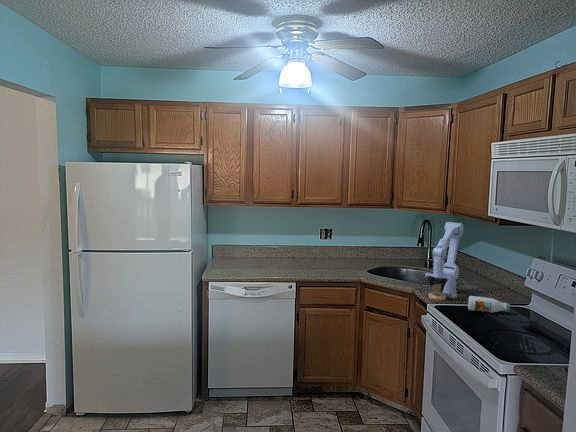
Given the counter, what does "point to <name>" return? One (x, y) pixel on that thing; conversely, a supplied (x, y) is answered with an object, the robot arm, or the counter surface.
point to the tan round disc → (436, 297)
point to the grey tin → (452, 295)
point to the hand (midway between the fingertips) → (437, 290)
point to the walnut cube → (436, 289)
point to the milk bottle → (487, 304)
